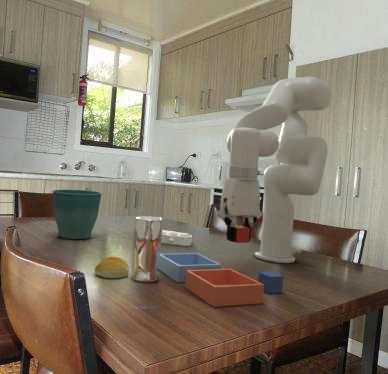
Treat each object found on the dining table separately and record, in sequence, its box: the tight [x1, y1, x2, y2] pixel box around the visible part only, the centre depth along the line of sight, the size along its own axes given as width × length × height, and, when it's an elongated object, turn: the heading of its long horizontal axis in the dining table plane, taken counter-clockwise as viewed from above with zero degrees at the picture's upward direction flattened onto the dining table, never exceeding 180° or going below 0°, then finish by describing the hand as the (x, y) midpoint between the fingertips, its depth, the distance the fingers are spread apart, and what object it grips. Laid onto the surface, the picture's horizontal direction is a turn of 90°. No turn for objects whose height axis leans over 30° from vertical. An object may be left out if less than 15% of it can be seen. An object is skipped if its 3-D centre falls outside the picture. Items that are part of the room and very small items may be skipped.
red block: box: [234, 224, 250, 244], centre depth 101 cm, size 4×4×4 cm
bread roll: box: [94, 256, 130, 279], centre depth 93 cm, size 8×9×4 cm
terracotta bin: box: [184, 268, 264, 308], centre depth 83 cm, size 12×12×4 cm
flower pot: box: [51, 189, 103, 240], centre depth 137 cm, size 18×18×17 cm
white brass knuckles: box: [161, 229, 193, 247], centre depth 142 cm, size 3×18×15 cm
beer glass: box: [132, 215, 163, 283], centre depth 91 cm, size 7×7×15 cm
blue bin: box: [157, 252, 223, 283], centre depth 97 cm, size 12×12×4 cm
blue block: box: [257, 270, 284, 295], centre depth 88 cm, size 4×4×4 cm
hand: (238, 239), depth 102 cm, fingers closed on red block, 4 cm apart
